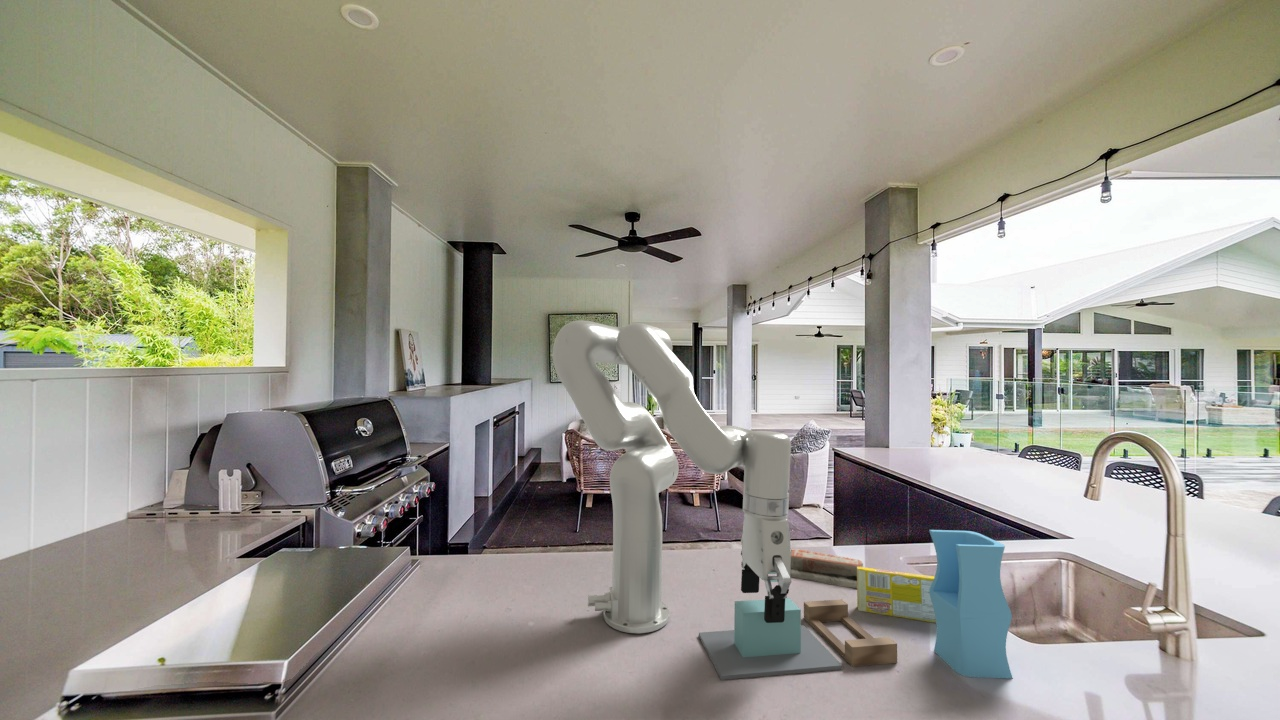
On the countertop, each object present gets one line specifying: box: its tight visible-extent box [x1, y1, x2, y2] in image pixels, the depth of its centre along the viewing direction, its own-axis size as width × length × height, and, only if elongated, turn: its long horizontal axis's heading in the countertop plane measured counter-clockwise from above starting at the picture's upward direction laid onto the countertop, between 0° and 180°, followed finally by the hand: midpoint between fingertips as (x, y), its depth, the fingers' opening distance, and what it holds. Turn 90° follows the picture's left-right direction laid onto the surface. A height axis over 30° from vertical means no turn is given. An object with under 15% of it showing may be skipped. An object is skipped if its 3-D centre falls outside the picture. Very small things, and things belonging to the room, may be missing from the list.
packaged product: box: [790, 548, 864, 589], centre depth 108 cm, size 18×5×10 cm
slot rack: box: [803, 598, 898, 668], centre depth 81 cm, size 8×15×3 cm, turn 9°
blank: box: [733, 597, 802, 657], centre depth 77 cm, size 4×10×7 cm, turn 99°
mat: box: [698, 624, 843, 681], centre depth 76 cm, size 20×12×1 cm, turn 99°
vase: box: [929, 529, 1013, 680], centre depth 75 cm, size 8×8×20 cm
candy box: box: [856, 566, 937, 624], centre depth 89 cm, size 16×2×8 cm, turn 71°
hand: (761, 606), depth 77 cm, fingers open, 9 cm apart
